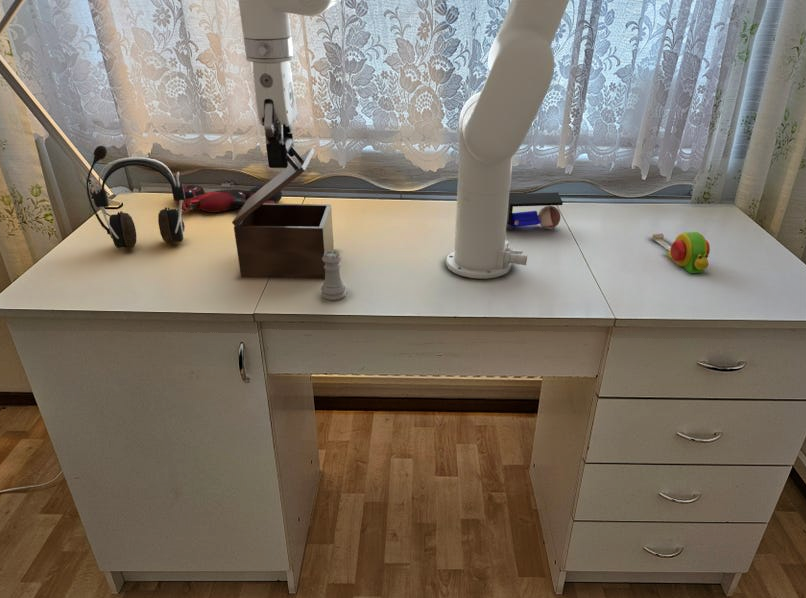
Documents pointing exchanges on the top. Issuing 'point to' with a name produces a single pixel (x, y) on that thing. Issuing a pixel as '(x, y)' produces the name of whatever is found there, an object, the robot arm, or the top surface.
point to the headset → (122, 222)
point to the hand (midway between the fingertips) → (282, 160)
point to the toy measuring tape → (687, 250)
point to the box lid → (276, 181)
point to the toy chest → (285, 241)
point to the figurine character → (546, 216)
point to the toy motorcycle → (219, 198)
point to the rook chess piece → (332, 277)
